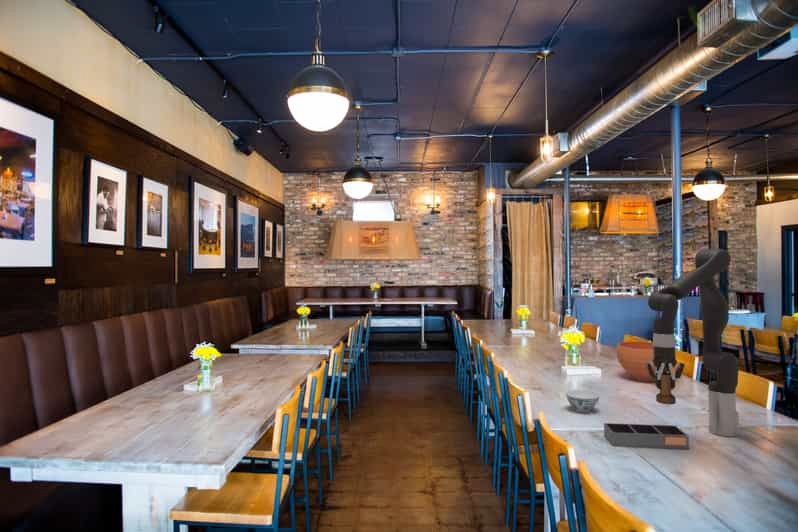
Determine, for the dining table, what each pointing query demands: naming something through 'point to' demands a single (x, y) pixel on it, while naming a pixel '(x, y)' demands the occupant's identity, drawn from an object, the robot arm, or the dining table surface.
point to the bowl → (636, 358)
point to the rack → (646, 436)
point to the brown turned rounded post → (665, 388)
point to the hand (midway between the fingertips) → (665, 388)
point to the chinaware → (582, 399)
